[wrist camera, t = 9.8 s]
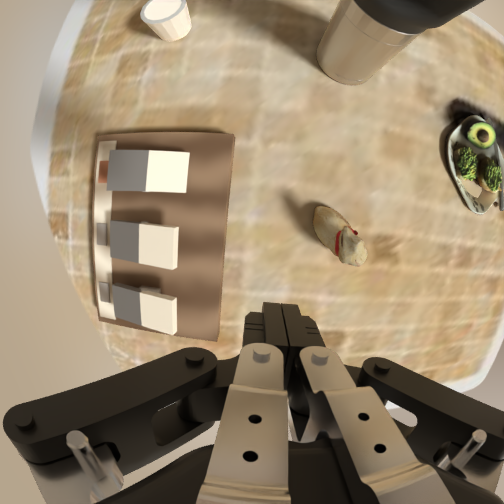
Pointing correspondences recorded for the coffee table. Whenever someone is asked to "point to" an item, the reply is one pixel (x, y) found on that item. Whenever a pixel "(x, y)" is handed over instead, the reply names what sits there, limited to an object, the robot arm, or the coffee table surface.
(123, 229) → the rocker mid
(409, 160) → the coffee table surface
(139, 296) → the rocker
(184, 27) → the white tapered cup
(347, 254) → the chocolate bunny
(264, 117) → the coffee table surface
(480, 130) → the salad plate
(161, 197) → the switch console
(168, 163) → the rocker
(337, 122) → the coffee table surface
